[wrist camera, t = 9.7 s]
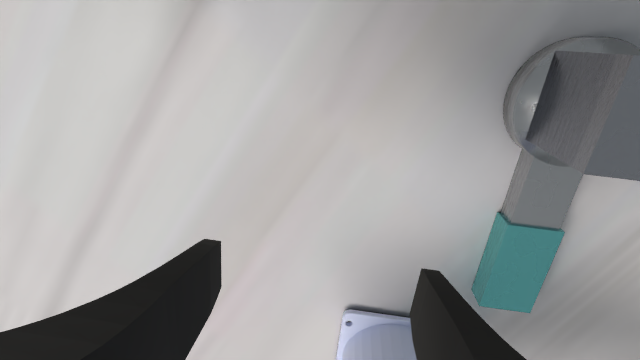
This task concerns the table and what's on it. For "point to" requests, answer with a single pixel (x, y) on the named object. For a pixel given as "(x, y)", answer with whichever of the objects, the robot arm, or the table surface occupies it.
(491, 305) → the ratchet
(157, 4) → the table surface
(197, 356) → the table surface
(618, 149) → the socket
